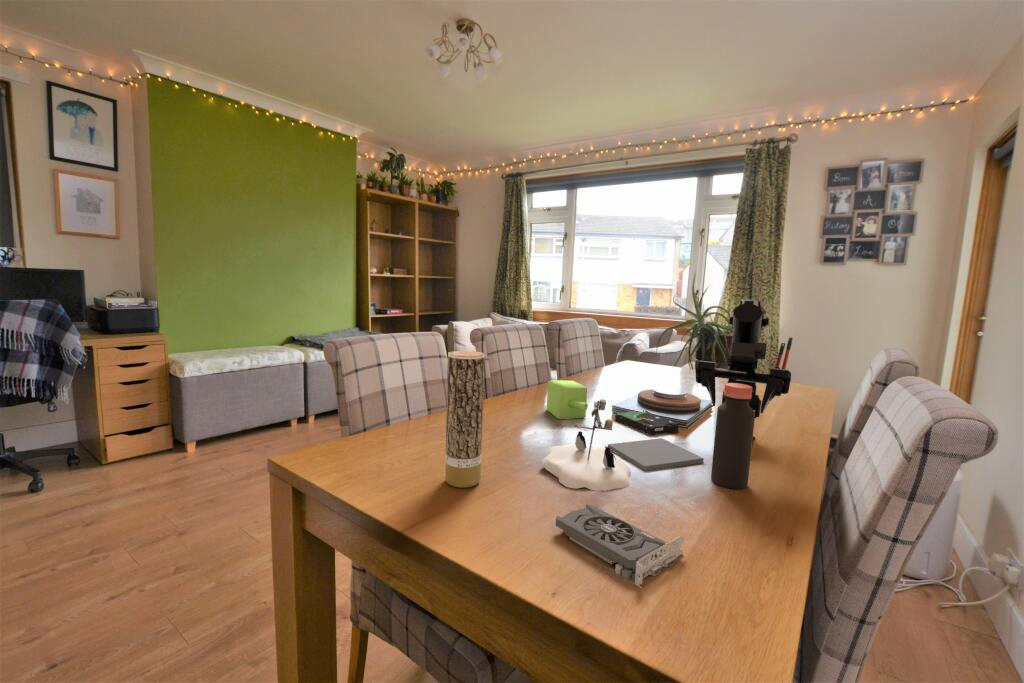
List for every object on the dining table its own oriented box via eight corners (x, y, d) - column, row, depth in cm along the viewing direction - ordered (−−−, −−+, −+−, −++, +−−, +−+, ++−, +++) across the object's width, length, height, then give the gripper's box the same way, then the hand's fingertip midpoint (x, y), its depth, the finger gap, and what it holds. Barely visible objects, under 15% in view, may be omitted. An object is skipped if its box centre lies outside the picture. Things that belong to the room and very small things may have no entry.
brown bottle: (745, 493, 89) (756, 391, 87) (708, 483, 93) (717, 385, 90) (749, 481, 95) (759, 385, 93) (713, 472, 99) (722, 380, 96)
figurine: (530, 451, 105) (536, 382, 101) (604, 448, 109) (613, 382, 106) (560, 500, 86) (569, 417, 82) (648, 494, 91) (661, 415, 87)
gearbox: (597, 423, 132) (599, 390, 131) (565, 424, 129) (567, 391, 128) (572, 406, 149) (574, 377, 148) (543, 407, 146) (544, 377, 145)
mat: (661, 442, 117) (661, 438, 117) (703, 462, 104) (703, 458, 104) (607, 448, 111) (607, 444, 111) (644, 470, 98) (645, 466, 98)
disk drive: (679, 433, 127) (640, 417, 140) (679, 423, 127) (641, 408, 140) (650, 437, 122) (613, 421, 135) (651, 427, 122) (614, 412, 135)
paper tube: (485, 477, 92) (489, 352, 89) (471, 492, 85) (475, 357, 82) (454, 472, 94) (457, 349, 91) (438, 485, 88) (441, 354, 85)
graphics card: (691, 537, 67) (641, 565, 59) (688, 562, 67) (639, 593, 60) (599, 494, 80) (549, 513, 72) (598, 515, 80) (548, 536, 73)
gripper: (700, 325, 106) (689, 381, 98) (795, 332, 97) (792, 393, 89) (701, 355, 114) (691, 409, 106) (789, 364, 105) (786, 423, 97)
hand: (737, 408), depth 99 cm, fingers open, 9 cm apart
